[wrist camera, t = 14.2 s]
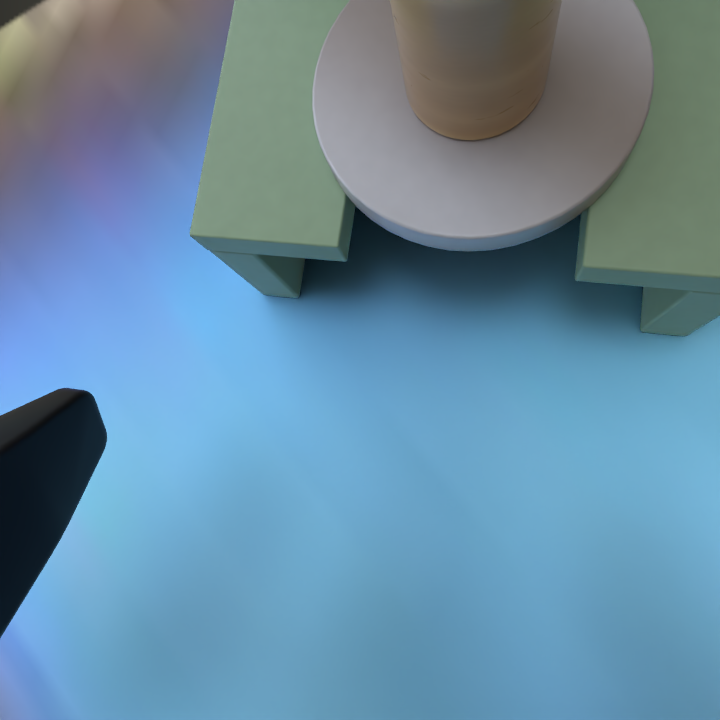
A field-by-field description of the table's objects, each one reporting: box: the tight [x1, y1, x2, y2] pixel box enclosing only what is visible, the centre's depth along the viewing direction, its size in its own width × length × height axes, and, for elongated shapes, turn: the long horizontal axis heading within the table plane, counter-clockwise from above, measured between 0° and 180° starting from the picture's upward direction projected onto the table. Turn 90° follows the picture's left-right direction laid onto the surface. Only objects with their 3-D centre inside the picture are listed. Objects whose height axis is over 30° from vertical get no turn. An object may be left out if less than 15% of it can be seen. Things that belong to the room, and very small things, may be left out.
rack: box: [190, 0, 720, 336], centre depth 14 cm, size 10×12×9 cm
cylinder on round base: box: [312, 0, 654, 251], centre depth 11 cm, size 7×7×12 cm
